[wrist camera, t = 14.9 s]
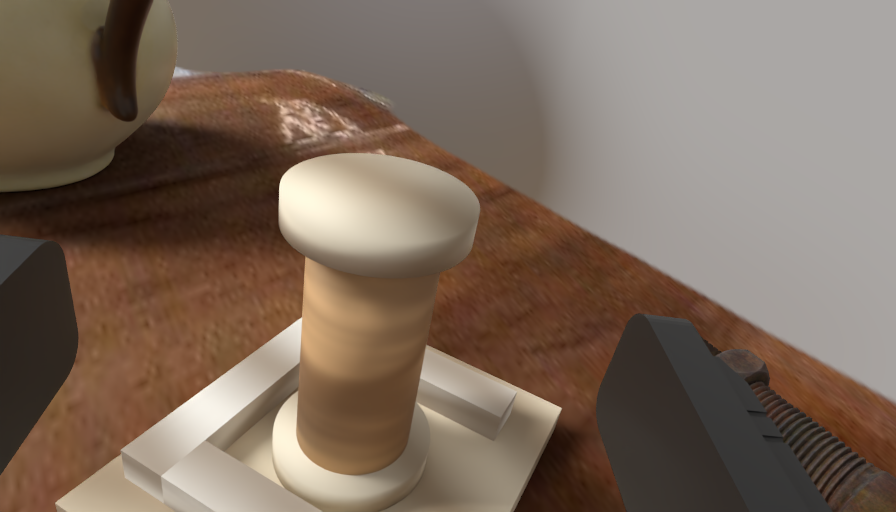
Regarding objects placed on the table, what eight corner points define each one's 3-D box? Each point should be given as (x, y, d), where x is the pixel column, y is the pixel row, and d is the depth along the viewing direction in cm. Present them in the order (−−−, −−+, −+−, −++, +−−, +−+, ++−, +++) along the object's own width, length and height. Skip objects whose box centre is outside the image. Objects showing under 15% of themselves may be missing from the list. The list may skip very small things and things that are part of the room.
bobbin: (374, 546, 22) (421, 268, 16) (237, 465, 24) (233, 190, 18) (451, 434, 27) (508, 193, 21) (333, 375, 29) (355, 139, 23)
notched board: (385, 770, 18) (398, 722, 16) (61, 529, 22) (47, 474, 21) (554, 429, 30) (570, 385, 29) (328, 320, 35) (331, 277, 33)
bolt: (652, 388, 38) (898, 606, 27) (612, 372, 34) (874, 614, 23) (711, 314, 37) (991, 510, 26) (675, 290, 33) (981, 503, 22)
